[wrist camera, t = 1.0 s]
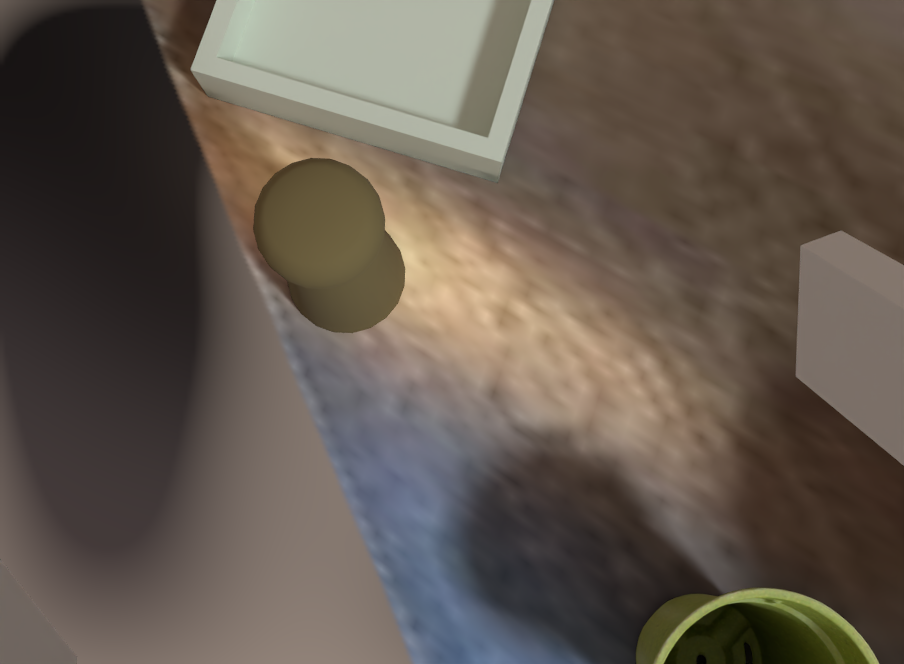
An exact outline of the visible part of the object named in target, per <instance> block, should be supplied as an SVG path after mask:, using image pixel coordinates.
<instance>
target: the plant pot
mask: <svg viewBox="0 0 904 664" xmlns="http://www.w3.org/2000/svg"><path fill="white" fill-rule="evenodd" d="M745 642H746V643H747V644H749V645H750V647H751V652H752V659H753V664H879V662H878V660H877V658H876V657H875V655H874V653H873V651H872V650H871V649H870V647H869V645H868V644H867V643H866V641H865V640H864V639H863V637H862V636H861V635H860V634H859V633H858V632H857V631H856V630H855V628H854V627H853V626H851V625H850V624H849V623H848V622H847V621H846V620H845V619H844V618H843V617H841V616H840V615H839V614H838V613H836V612H835V611H834V610H832V609H831V608H829V607H828V606H826V605H825V604H823V603H821V602H819V601H817V600H815V599H812V598H810V597H807V596H805V595H802V594H799V593H795V592H791V591H787V590H782V589H775V588H748V589H741V590H737V591H732V592H729V593H726V594H723V595H720V596H712V595H706V594H688V595H683V596H679V597H676V598H674V599H672V600H669V601H668V602H666V603H665V604H663V605H662V606H661V607H660V608H659V609H658V610H657V611H656V612H655V613H654V614H653V615H652V616H651V618H650V619H649V620H648V621H647V623H646V624H645V625H644V627H643V629H642V631H641V633H640V636H639V639H638V644H637V648H636V664H697V660H696V659H697V657H698V656H699V655H703V656H705V658H706V664H745V660H746V655H745V649H744V643H745Z"/></svg>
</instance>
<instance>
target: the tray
mask: <svg viewBox="0 0 904 664" xmlns="http://www.w3.org/2000/svg"><path fill="white" fill-rule="evenodd" d="M553 3H554V0H217V1H216V3H215V6H214V9H213V11H212V14H211V17H210V19H209V22H208V25H207V27H206V30H205V32H204V35H203V38H202V40H201V43H200V46H199V48H198V51H197V53H196V56H195V59H194V61H193V64H192V67H191V69H190V70H191V72H192V73H193V75H194V76H195V78H196V79H197V81H198V82H199V84H200V85H201V87H202V89H203V90H204V92H205V93H206V95H207V96H208V97H211V98H215V99H218V100H221V101H225V102H228V103H231V104H235V105H238V106H241V107H245V108H248V109H251V110H255V111H258V112H262V113H265V114H268V115H272V116H275V117H278V118H282V119H285V120H288V121H292V122H295V123H298V124H302V125H305V126H308V127H312V128H315V129H319V130H322V131H325V132H329V133H332V134H335V135H339V136H342V137H345V138H349V139H352V140H355V141H359V142H362V143H365V144H369V145H372V146H375V147H379V148H382V149H386V150H389V151H392V152H396V153H399V154H402V155H406V156H409V157H412V158H416V159H419V160H422V161H426V162H429V163H432V164H436V165H439V166H442V167H446V168H449V169H453V170H456V171H459V172H463V173H466V174H469V175H473V176H476V177H479V178H483V179H486V180H489V181H493V182H496V183H498V180H499V177H500V173H501V170H502V167H503V164H504V161H505V157H506V154H507V151H508V148H509V144H510V141H511V138H512V135H513V131H514V128H515V125H516V122H517V119H518V115H519V112H520V109H521V106H522V102H523V99H524V96H525V93H526V90H527V86H528V83H529V80H530V77H531V73H532V70H533V67H534V64H535V61H536V57H537V54H538V51H539V48H540V44H541V41H542V38H543V35H544V32H545V28H546V25H547V22H548V19H549V15H550V12H551V9H552V6H553Z"/></svg>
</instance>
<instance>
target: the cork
mask: <svg viewBox="0 0 904 664" xmlns="http://www.w3.org/2000/svg"><path fill="white" fill-rule="evenodd" d="M253 230H254V234H255V238H256V242H257V246H258V249H259V251H260V252H261V254H262V255H263V257H264V258H265V260H266V262H267V263H268V265H269V266H270V267H271V268H272V269H273V270H274V271H276V272H277V273H278V274H279V275H281V276H282V277H283V278H285V279H286V280H287V282H288V285H289V289H290V293H291V297H292V300H293V301H294V303H295V304H296V306H297V308H298V309H299V311H300V312H301V314H302V315H303V316H305V317H306V318H307V319H308V320H310V321H311V322H312V323H313V324H315V325H316V326H318V327H321V328H324V329H326V330H329V331H332V332H342V333H354V332H357V331H361V330H365V329H368V328H371V327H373V326H374V325H376V324H377V323H379V322H380V321H382V320H383V319H385V318H386V317H387V316H388V315H389V314H390V312H391V311H392V310H393V309H394V307H395V306H396V305H397V304H398V301H399V299H400V296H401V294H402V291H403V288H404V282H405V266H404V262H403V259H402V255H401V252H400V250H399V248H398V247H397V245H396V244H395V242H394V241H393V240H392V238H391V237H390V235H389V234H388V233H387V232H386V231H385V216H384V212H383V208H382V205H381V201H380V198H379V195H378V194H377V192H376V191H375V189H374V188H373V186H372V185H371V183H370V182H369V181H368V179H366V178H365V177H364V176H362V175H361V174H360V173H359V172H357V171H356V170H355V169H353V168H352V167H350V166H349V165H346V164H343V163H341V162H338V161H335V160H332V159H320V158H310V159H306V160H302V161H298V162H294V163H291V164H290V165H288V166H287V167H285V168H283V169H282V170H280V171H279V172H277V173H275V174H274V176H273V177H272V178H271V179H270V180H269V181H268V183H267V184H266V185H265V186H264V187H263V188H262V191H261V193H260V196H259V198H258V200H257V203H256V205H255V213H254V226H253Z"/></svg>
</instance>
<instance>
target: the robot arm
mask: <svg viewBox="0 0 904 664" xmlns="http://www.w3.org/2000/svg"><path fill="white" fill-rule="evenodd" d="M796 377H797V378H798V379H799V380H801V381H802V382H803V383H804V384H805V385H807V386H808V387H809V388H810V389H812V390H813V391H814V392H815V393H816V394H818V395H819V396H820V397H821V398H822V399H824V400H825V401H826V402H827V403H828V404H830V405H831V406H832V407H833V408H835V409H836V410H837V411H838V412H839V413H841V414H842V415H843V416H844V417H845V418H847V419H848V420H849V421H850V422H851V423H853V424H854V425H855V426H856V427H858V428H859V429H860V430H861V431H862V432H864V433H865V434H866V435H867V436H868V437H870V438H871V439H872V440H873V441H874V442H876V443H877V444H878V445H879V446H881V447H882V448H883V449H884V450H885V451H887V452H888V453H889V454H890V455H891V456H893V457H894V458H895V459H896V460H897V461H899V462H900V463H901V464H902V465H903V466H904V265H902V264H900V263H898V262H897V261H895V260H893V259H891V258H890V257H888V256H886V255H884V254H882V253H881V252H879V251H877V250H875V249H873V248H872V247H870V246H868V245H866V244H864V243H863V242H861V241H859V240H857V239H856V238H854V237H852V236H850V235H848V234H847V233H845V232H843V231H839V232H836V233H833V234H831V235H828V236H825V237H822V238H820V239H817V240H814V241H811V242H809V243H806V244H803V245H801V252H800V278H799V303H798V328H797V354H796ZM0 664H77V656H76V655H75V653H74V652H73V651H72V650H71V648H70V647H69V646H68V644H67V643H66V642H65V641H64V639H63V638H62V637H61V636H60V634H59V633H58V632H57V630H56V629H55V628H54V627H53V625H52V624H51V623H50V622H49V620H48V619H47V618H46V616H45V615H44V614H43V613H42V611H41V610H40V609H39V608H38V606H37V605H36V604H35V602H34V601H33V600H32V599H31V597H30V596H29V595H28V594H27V592H26V591H25V590H24V588H23V587H22V586H21V585H20V583H19V582H18V581H17V580H16V578H15V577H14V576H13V575H12V573H11V572H10V571H9V569H8V568H7V567H6V566H5V564H4V563H3V562H2V561H1V559H0Z"/></svg>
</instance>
